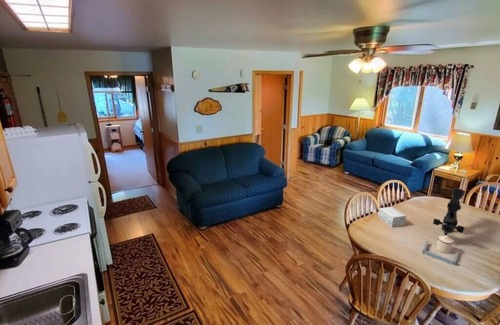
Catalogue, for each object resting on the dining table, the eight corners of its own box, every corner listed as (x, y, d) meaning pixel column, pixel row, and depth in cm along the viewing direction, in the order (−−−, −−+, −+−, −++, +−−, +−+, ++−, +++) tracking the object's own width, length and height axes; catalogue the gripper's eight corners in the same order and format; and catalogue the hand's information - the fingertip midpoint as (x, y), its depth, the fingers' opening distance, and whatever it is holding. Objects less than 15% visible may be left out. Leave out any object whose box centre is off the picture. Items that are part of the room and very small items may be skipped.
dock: (426, 243, 202) (426, 240, 201) (457, 254, 190) (458, 251, 189) (422, 253, 191) (422, 250, 190) (455, 265, 179) (456, 262, 178)
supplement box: (404, 225, 226) (406, 215, 223) (391, 227, 223) (393, 217, 220) (389, 215, 242) (391, 206, 239) (377, 217, 239) (379, 208, 236)
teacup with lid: (453, 253, 191) (457, 239, 187) (441, 254, 190) (444, 240, 187) (441, 243, 202) (445, 230, 198) (429, 243, 202) (433, 230, 198)
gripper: (436, 208, 203) (430, 227, 199) (467, 217, 192) (462, 237, 187) (435, 214, 211) (430, 232, 207) (465, 222, 200) (460, 242, 195)
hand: (445, 235), depth 199 cm, fingers closed
